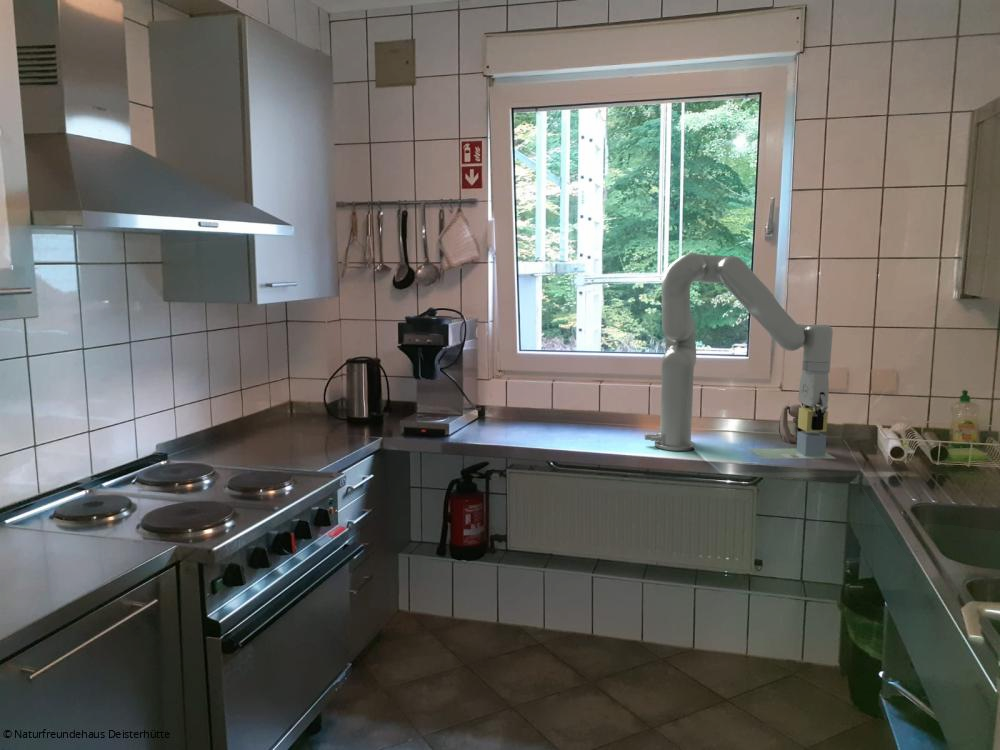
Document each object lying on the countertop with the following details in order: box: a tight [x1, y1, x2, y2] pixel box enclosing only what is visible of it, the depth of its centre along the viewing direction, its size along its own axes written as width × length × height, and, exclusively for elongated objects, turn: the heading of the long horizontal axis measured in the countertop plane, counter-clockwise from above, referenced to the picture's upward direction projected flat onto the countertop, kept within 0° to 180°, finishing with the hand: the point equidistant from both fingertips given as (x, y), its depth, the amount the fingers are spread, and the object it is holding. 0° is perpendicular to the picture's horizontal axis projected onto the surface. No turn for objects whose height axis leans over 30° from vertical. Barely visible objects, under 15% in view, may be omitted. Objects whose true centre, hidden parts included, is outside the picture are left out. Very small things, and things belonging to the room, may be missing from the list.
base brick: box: [795, 432, 827, 456], centre depth 230 cm, size 6×6×6 cm
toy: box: [778, 401, 806, 444], centre depth 247 cm, size 9×8×15 cm
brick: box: [798, 408, 829, 433], centre depth 229 cm, size 6×6×6 cm
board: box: [747, 448, 837, 460], centre depth 230 cm, size 22×12×1 cm, turn 93°
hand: (812, 426), depth 229 cm, fingers closed on brick, 5 cm apart
